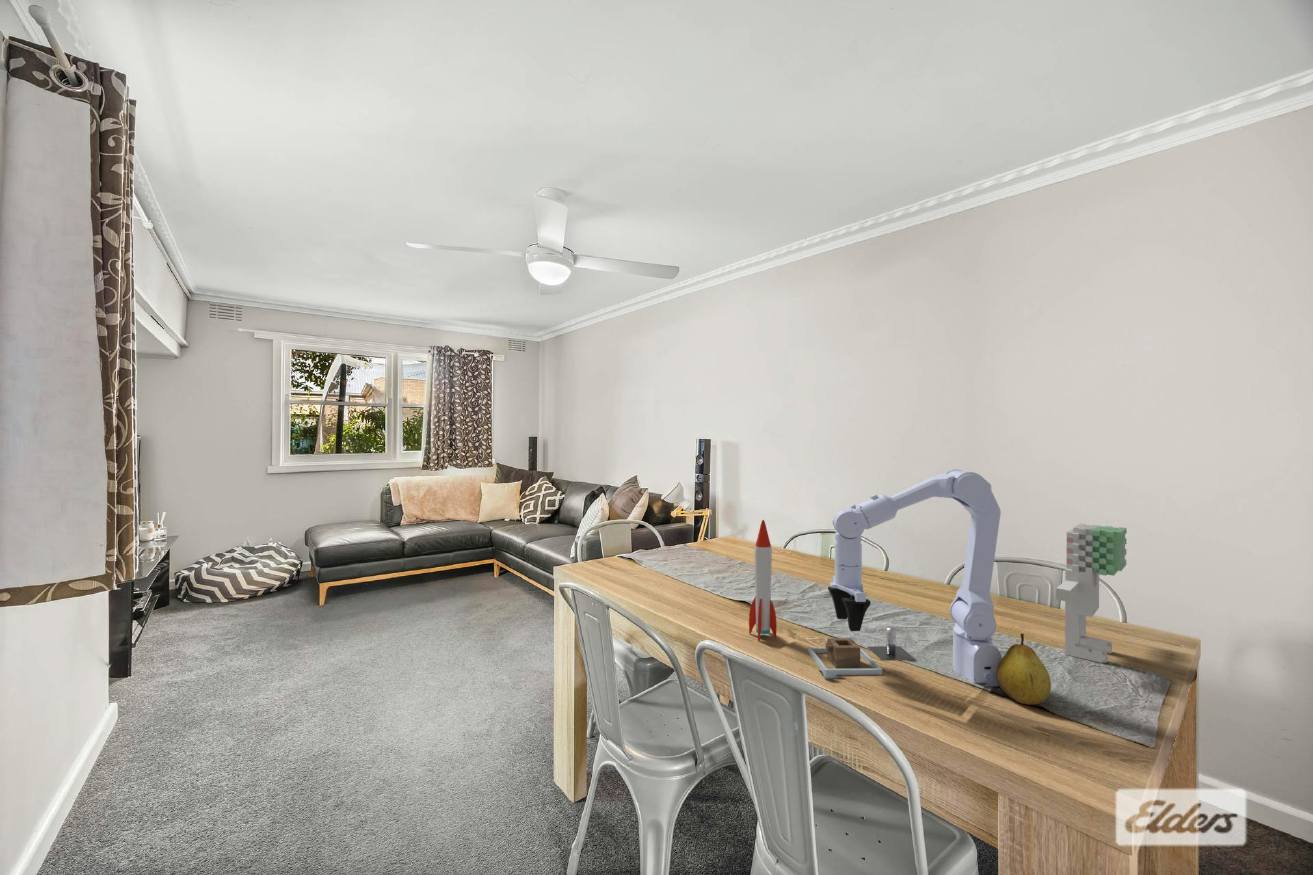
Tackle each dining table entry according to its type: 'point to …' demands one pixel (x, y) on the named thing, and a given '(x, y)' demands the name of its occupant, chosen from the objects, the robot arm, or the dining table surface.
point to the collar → (843, 652)
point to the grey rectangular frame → (833, 672)
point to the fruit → (1023, 675)
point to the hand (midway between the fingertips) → (848, 624)
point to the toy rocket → (763, 587)
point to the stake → (891, 648)
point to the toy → (1088, 584)
